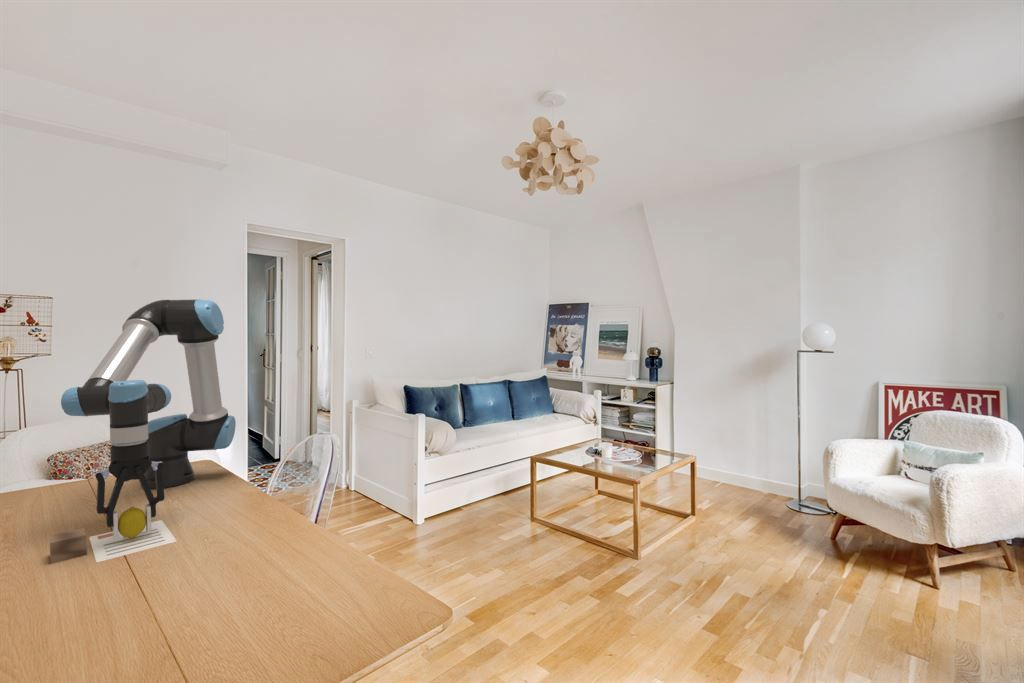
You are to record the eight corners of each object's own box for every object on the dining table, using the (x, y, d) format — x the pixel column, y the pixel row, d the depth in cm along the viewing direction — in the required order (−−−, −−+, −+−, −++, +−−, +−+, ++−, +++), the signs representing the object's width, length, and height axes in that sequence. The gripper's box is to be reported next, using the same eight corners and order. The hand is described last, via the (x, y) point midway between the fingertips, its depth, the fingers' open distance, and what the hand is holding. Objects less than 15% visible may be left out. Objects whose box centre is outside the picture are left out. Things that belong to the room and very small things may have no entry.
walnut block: (84, 548, 115) (84, 527, 115) (86, 556, 111) (86, 534, 111) (50, 556, 111) (49, 535, 111) (51, 565, 107) (50, 543, 107)
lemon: (151, 534, 122) (151, 503, 122) (132, 544, 116) (132, 511, 116) (131, 534, 122) (131, 502, 122) (111, 543, 117) (111, 510, 117)
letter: (161, 520, 132) (161, 519, 132) (177, 542, 118) (177, 541, 118) (89, 537, 121) (89, 536, 121) (96, 563, 107) (96, 562, 107)
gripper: (172, 434, 128) (174, 520, 129) (77, 447, 115) (80, 542, 115) (178, 438, 123) (180, 527, 123) (80, 452, 110) (83, 551, 110)
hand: (132, 534), depth 119 cm, fingers open, 6 cm apart
